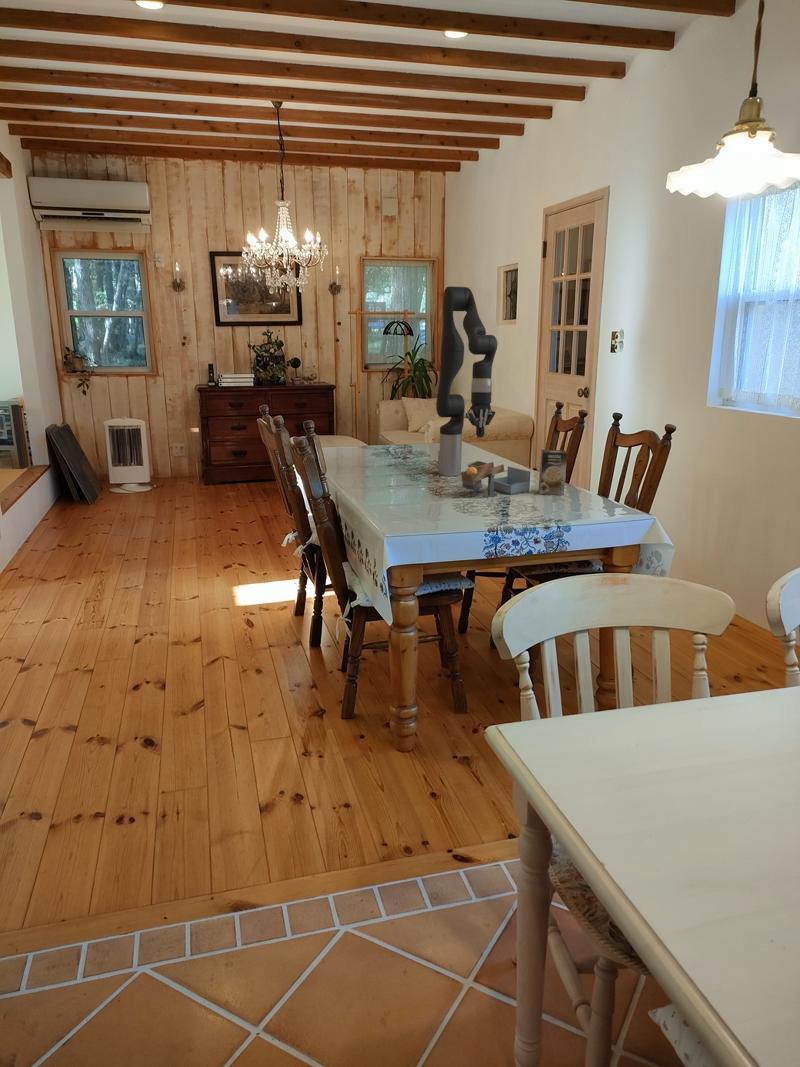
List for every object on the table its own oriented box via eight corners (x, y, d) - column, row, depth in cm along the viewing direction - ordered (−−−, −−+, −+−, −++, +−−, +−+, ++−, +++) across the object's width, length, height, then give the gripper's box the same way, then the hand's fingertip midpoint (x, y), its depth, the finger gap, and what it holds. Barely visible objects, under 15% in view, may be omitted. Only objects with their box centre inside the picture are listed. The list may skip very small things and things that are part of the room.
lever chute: (473, 490, 270) (471, 475, 268) (448, 483, 282) (446, 468, 280) (505, 478, 277) (503, 464, 275) (479, 472, 290) (477, 458, 288)
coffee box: (539, 494, 277) (541, 452, 273) (538, 491, 283) (540, 449, 279) (564, 495, 276) (567, 452, 272) (562, 491, 283) (565, 449, 278)
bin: (510, 495, 277) (511, 473, 275) (489, 489, 287) (490, 468, 285) (529, 492, 282) (530, 471, 280) (508, 486, 292) (508, 466, 289)
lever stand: (487, 498, 272) (488, 474, 269) (469, 492, 280) (469, 470, 278) (497, 496, 274) (498, 473, 272) (479, 491, 283) (480, 468, 281)
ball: (464, 477, 273) (463, 467, 272) (472, 475, 275) (472, 465, 274) (471, 479, 270) (470, 468, 269) (479, 477, 272) (479, 466, 271)
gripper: (488, 389, 283) (487, 434, 288) (461, 390, 276) (460, 437, 281) (501, 390, 277) (500, 436, 282) (473, 392, 270) (472, 439, 275)
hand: (480, 436), depth 281 cm, fingers closed
